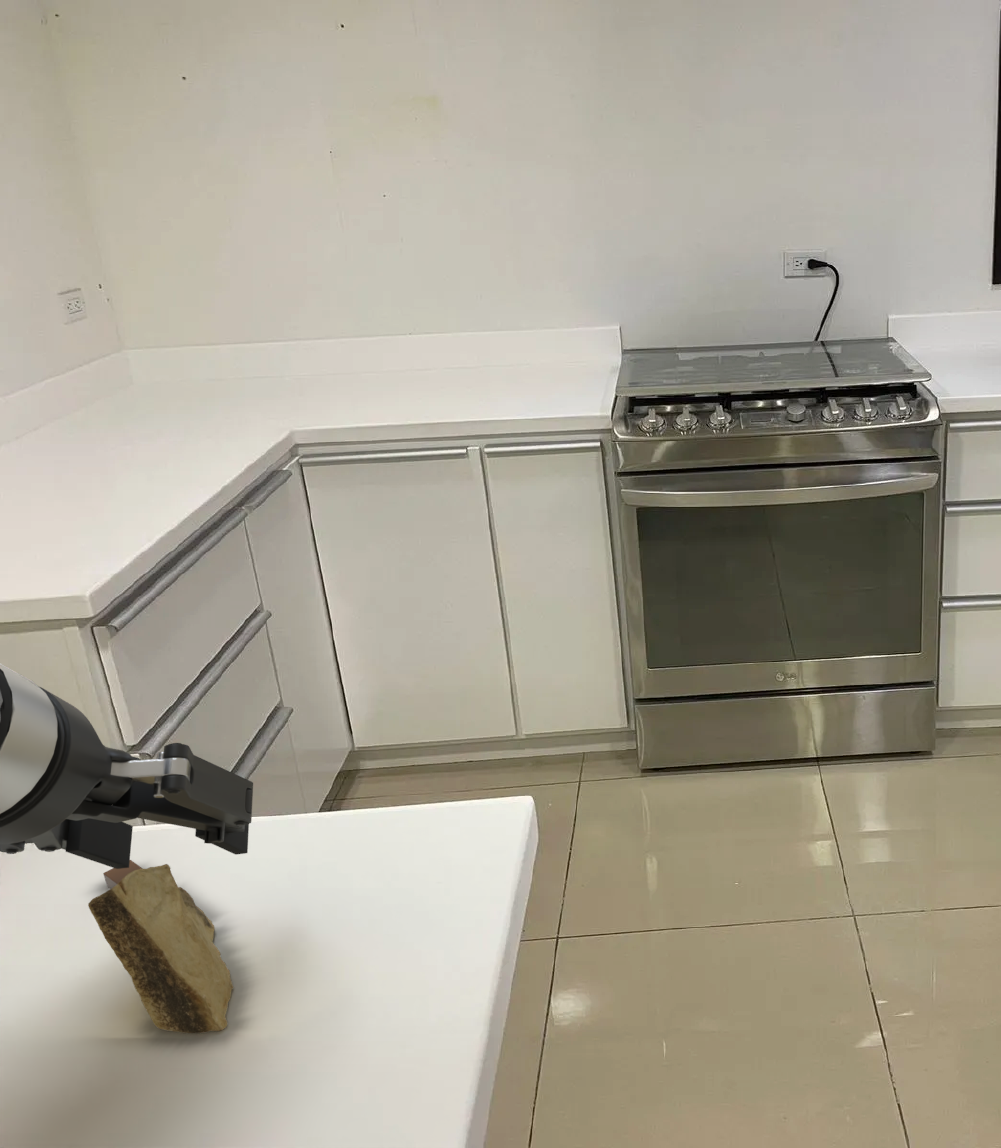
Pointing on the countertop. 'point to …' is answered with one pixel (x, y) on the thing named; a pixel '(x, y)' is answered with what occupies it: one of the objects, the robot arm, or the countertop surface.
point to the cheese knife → (119, 874)
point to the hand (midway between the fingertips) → (183, 840)
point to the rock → (166, 950)
